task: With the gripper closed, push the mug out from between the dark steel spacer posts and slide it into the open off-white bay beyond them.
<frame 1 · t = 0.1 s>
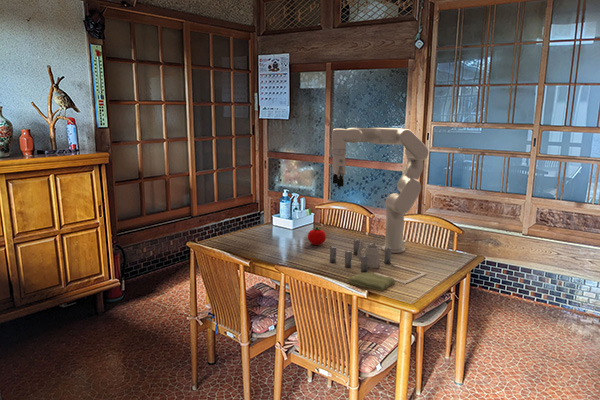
hand: (337, 184, 243), 37 cm above the table, tool pointing down, fingers open, 9 cm apart
spacer posts: (360, 262, 234), on the table
tomato: (316, 245, 265), on the table
washcloth: (371, 284, 206), on the table
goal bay: (398, 274, 218), on the table
mug: (367, 265, 231), on the table
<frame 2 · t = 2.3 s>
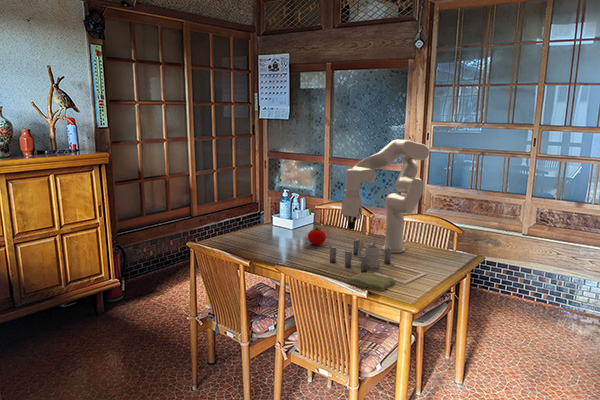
hand: (351, 228, 235), 17 cm above the table, tool pointing down, fingers closed
nothing on the table moved.
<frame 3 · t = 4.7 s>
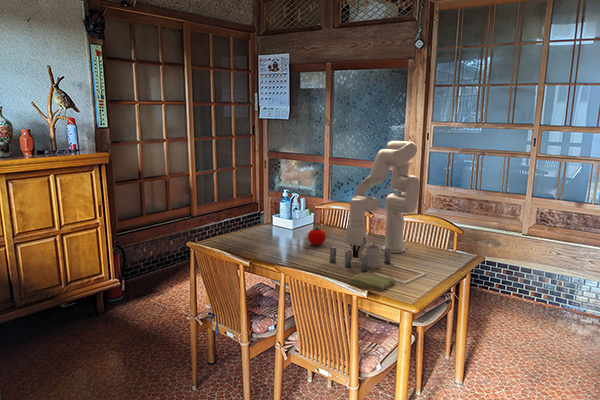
hand: (355, 257, 235), 2 cm above the table, tool pointing down, fingers closed
mug: (368, 265, 230), on the table, touching gripper
everything else where it was.
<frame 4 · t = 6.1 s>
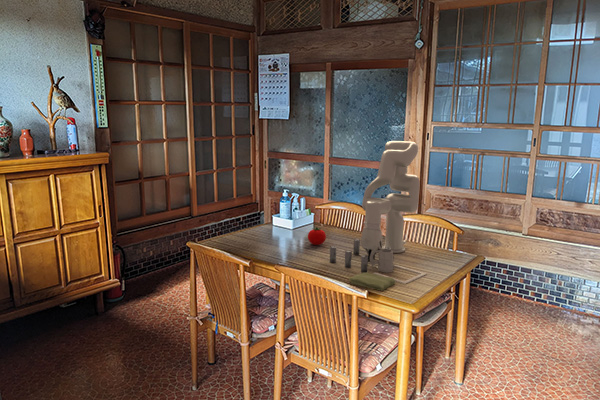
hand: (371, 261, 229), 2 cm above the table, tool pointing down, fingers closed
mug: (381, 269, 224), on the table, touching gripper
everything else where it was.
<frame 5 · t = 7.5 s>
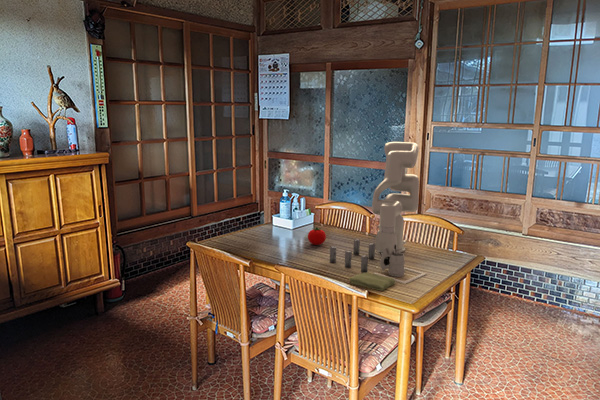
hand: (385, 265, 223), 2 cm above the table, tool pointing down, fingers closed
mug: (392, 274, 218), on the table, touching gripper
everything else where it was.
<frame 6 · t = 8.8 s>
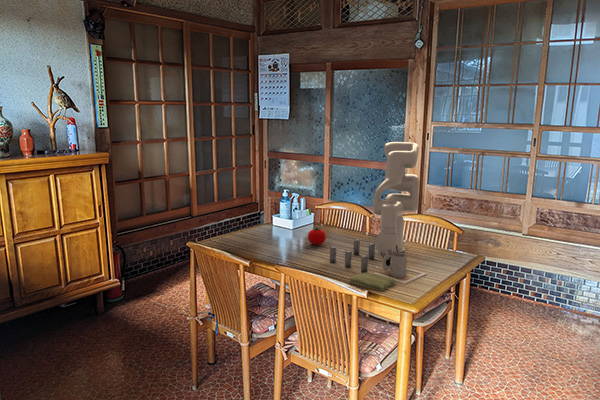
hand: (386, 266, 222), 2 cm above the table, tool pointing down, fingers closed
mug: (394, 275, 217), on the table
everything else where it was.
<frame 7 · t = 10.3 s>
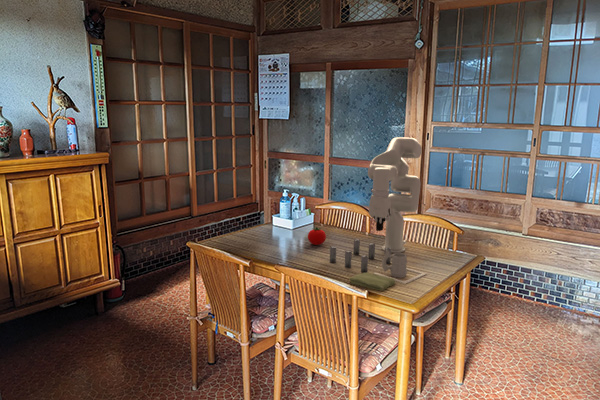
hand: (379, 230, 223), 19 cm above the table, tool pointing down, fingers closed
nothing on the table moved.
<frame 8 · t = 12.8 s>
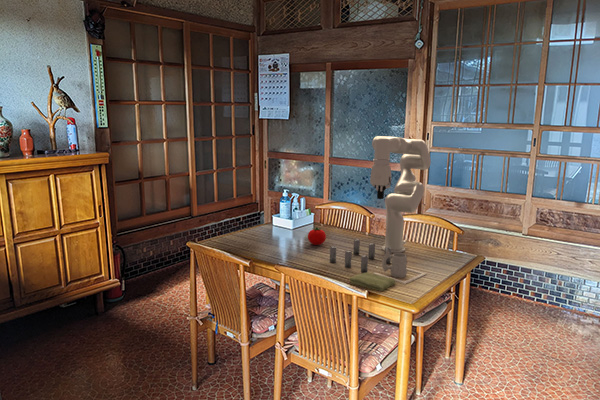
hand: (380, 198, 233), 32 cm above the table, tool pointing down, fingers closed
nothing on the table moved.
at the end: mug inside the target area (2.4 cm from its centre), on the table; mug tilted 0°; mug touching table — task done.
